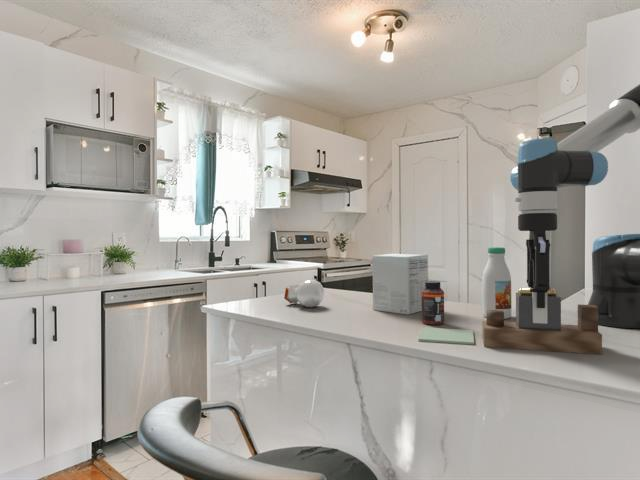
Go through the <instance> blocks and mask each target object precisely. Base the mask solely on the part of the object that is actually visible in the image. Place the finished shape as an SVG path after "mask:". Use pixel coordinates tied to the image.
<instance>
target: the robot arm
mask: <svg viewBox="0 0 640 480" xmlns="http://www.w3.org/2000/svg"><path fill="white" fill-rule="evenodd" d="M639 130H640V84H637V85H636V86H634V87H633V88H631V89H630V90H628V91H627V92H626V93H624V94H623V95H622V96H620V97H619V98H617V99H615V100H614V101H613V102H611V103H610V104H609V105H608V107H607V110H606V111H604V112H603V113H601V114H600V115H598V116H597V117H595V118H594V119H592V120H590V121H589V122H588V123H587V122H586V124H584V125H583V126H581V127H580V128H578V129H577V130H575V131H574V132H572V133H571V134H569V135H568V136H566V137H565V138H563V139H562V140H560V141H559V142H557V140H556V139H553V138H548V137H547V138H545V137H544V138H533V139H528V140H525V141H523V142H521V143H520V144H519V146H518V152H517V161H516V165H515V166H514V167H513V168H512V169H511V171H510V183H511V186H512V187H513V188H514V189H515V190H517V192H518V193H517V194H518V195H517V196H518V197H515V198H514V202H516V203H518V204H517V205H518V206H517V207H518V211H519V212H520V213H519V214H518V216H517V229H518V231H520V232H529V234H528V236H529V238H528V239H525V240H526V241H525V245H526V283H527V286H528V287H527V288H533V289H530V292H532V319H533V323H544V324H547V292H548V291H549V290H550V289H551V287H550V250H551V249H550V247H551V244H550V240H549V239H547V233H546V232H547V231H548V232H551V231H556V230H558V214H557V213H556V212H555V211H557V210H558V189H559V188H566V187H567V188H568V187H576V186H580V187H588V186H596V185H598V184H600V183H601V182H603V180H605V179H606V177H607V174H608V172H609V161H608V159H607V157H606V156H605V155H604V154H603V153H601V152H600V151H601V150H603V149H605V148H606V147H608V146H609V145H611V143H614V142H615V141H617V140H618V139H620V138H621V137H622V136H624V135H625V134H632V133H635V132H637V131H639ZM591 256H592V258H591V260H592V261H591V264H592V265H591V266H592V270H591V271H592V293H591V296H590V298H589V300H588V303H587V305H595V306H596V307H598V325H599V326H600V325H601V326H607V327H613V328H621V329H623V328H624V329H640V233H625V234H615V235H607V236H600V237H597V238H596V239H594V241H593V243H592V251H591Z"/></svg>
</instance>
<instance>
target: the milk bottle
mask: <svg viewBox="0 0 640 480" xmlns="http://www.w3.org/2000/svg"><path fill="white" fill-rule="evenodd" d="M487 255H488V259H487V263H486V265H485V268H484V269H483V272H482V280H481V281H482V285H481V290H482V291H481V293H482V296H481V297H482V298H481V299H482V302H481V303H482V304H481V305H482V307H481V308H482V311H481V312H482V316H483V317H485V318H487V310H500V311H503V312H504V320H505V319H506V320H507V319H510V318H511V317H512V277H511V276H512V275H511V271H510V268H509V267H508V265H507V262H506V259H505V256H506V248H505V247H500V246H493V247H492V246H491V247H488V248H487Z"/></svg>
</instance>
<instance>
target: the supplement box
mask: <svg viewBox="0 0 640 480" xmlns="http://www.w3.org/2000/svg"><path fill="white" fill-rule="evenodd" d="M371 257H372V263H371V264H372V310H373V311H377V312H385V313H394V314H399V315H400V314H402V315H412V314H414V313H418V312H419V313H420V312H422V290H423V289H425V288H426V287H425V282H426V281H429V254H416V253H415V254H413V253H412V254H409V253H386V254H375V255H372V256H371Z"/></svg>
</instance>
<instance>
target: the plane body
mask: <svg viewBox="0 0 640 480" xmlns="http://www.w3.org/2000/svg"><path fill="white" fill-rule="evenodd" d="M482 342H483V346H484V348H485V347H486V348H487V347H488V348H497V349H499V348H500V349H502V348H503V349H513V350H514V349H515V350H516V349H517V350H530V351H544V352H556V351H558V352H559V351H560V352H559V353H571V352H577V353H576V354H586V353H590V355H601V354H602V355H603V334H602V333H600V332H599V324H598V307H596V306H595V305H588V304H577V324H561V331H555V330H536V329H519V328H518V326H517V325H516V321H505V319H504V312H503V311H500V310H487V317H486V320H482ZM558 352H557V353H558ZM591 353H592V354H591Z"/></svg>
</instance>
